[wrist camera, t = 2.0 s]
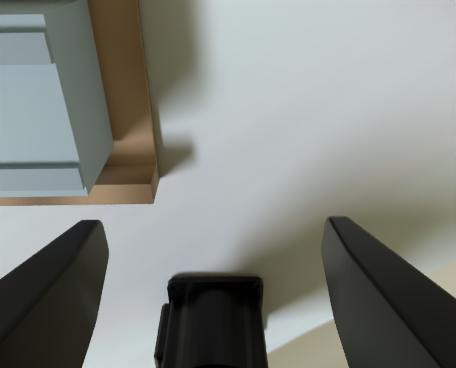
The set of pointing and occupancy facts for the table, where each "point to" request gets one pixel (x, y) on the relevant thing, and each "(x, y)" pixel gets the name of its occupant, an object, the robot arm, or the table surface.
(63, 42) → the grey box
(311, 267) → the table surface
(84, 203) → the brown tray
